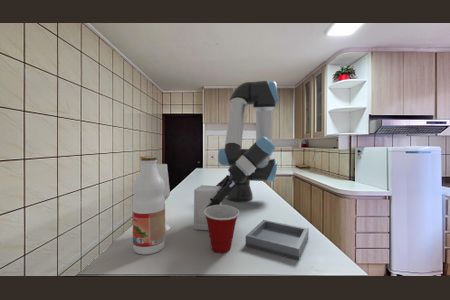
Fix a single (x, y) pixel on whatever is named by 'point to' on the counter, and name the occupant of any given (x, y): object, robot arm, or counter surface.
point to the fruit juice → (148, 209)
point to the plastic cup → (221, 226)
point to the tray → (278, 239)
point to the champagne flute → (164, 175)
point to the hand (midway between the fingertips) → (200, 210)
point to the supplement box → (203, 204)
